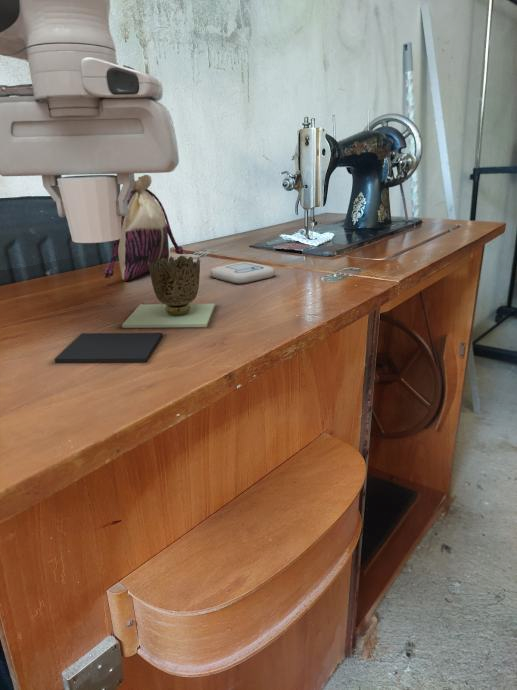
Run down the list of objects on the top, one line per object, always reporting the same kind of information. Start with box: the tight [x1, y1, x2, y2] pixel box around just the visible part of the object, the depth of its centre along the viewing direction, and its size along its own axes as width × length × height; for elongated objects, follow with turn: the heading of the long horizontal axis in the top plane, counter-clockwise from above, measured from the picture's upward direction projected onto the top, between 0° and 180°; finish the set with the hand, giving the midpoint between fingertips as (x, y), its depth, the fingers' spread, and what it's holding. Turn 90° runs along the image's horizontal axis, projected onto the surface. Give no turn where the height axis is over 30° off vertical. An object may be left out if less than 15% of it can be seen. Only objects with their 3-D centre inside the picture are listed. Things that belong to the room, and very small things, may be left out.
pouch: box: [103, 174, 184, 282], centre depth 102 cm, size 25×8×19 cm, turn 162°
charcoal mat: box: [54, 332, 163, 364], centre depth 65 cm, size 11×9×1 cm
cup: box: [148, 254, 201, 316], centre depth 76 cm, size 8×7×8 cm
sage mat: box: [121, 303, 216, 329], centre depth 77 cm, size 12×10×1 cm
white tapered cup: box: [57, 174, 122, 244], centre depth 59 cm, size 7×7×7 cm
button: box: [210, 261, 276, 285], centre depth 100 cm, size 10×2×10 cm
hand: (94, 216), depth 60 cm, fingers closed on white tapered cup, 5 cm apart
